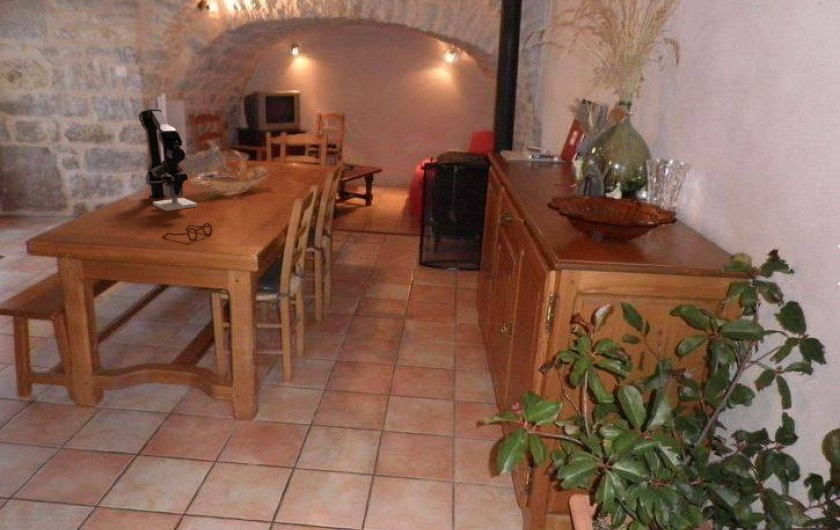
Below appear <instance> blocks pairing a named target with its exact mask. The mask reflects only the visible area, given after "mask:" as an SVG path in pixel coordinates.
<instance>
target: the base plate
mask: <svg viewBox="0 0 840 530" xmlns="http://www.w3.org/2000/svg"><path fill="white" fill-rule="evenodd" d="M152 205H153V206H154V207H157V208H159V209H161V210H163V211H166V212H167V211H168V212H169V211H175V210H182V209H189V208H197V207H198V203H197V202H194V201H192V200H190V199H187V198H185V197H180V198H179V197H172V198H170V199H165V200H157V201H155V200H154V201H152Z"/></svg>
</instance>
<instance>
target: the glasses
mask: <svg viewBox="0 0 840 530" xmlns="http://www.w3.org/2000/svg"><path fill="white" fill-rule="evenodd" d="M205 228H209V229H210V230H209V232H208V233H206V229H205ZM184 231H187V232H180V233H174V232H166V233H165V234H164V235H162V237H161V238H163V239H164V238H166V237H167V236H168V235H172V236H174V237H175V236H186V235H187V238H188V240H189V241H191V242H194V241H196V240H197V239H198V231H203V234H204V235H205V236H210V235H212V232H213V226H212V225H211V223H210V222H205V223H204V224H203V225H194V224H189V225H187V226H186V228H184ZM190 231H194V233H195V236H194V237H193V238H191V237H190Z"/></svg>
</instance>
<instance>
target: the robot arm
mask: <svg viewBox="0 0 840 530" xmlns="http://www.w3.org/2000/svg"><path fill="white" fill-rule="evenodd" d="M138 120H139V122H140V125H141V127H142V129H144V131H145V135H146V140H147V141H146V143H147V149H148V157H149V165H148V166H147V172H146V175H145V184H147V185H148V186H150V194H148V196H149V197H151V198H153V199H158V198H164V197H165V198H166V197H167V196H165V194H164V184H171V183H173V185H174V190H175V194H176V195H178V194H179V192H180V189H181V187H182V185H183V184H184V183H185V181H188V180H189V175H188V173H185V172H181V169H179V164H181V162H183V161H184V159H185V158H186V153H185V151H184V150H183V149H182V148H181V147H183V140H182V137H181V135H180V134H179V132H178V131H177V130H176V128H175V127H173V126H171V125H169V124H168V122H167V120H166V118H165V117H164V116H163V114H162V109H160V108H149V109H146V110H142V111H140V113H139V114H138ZM158 131H159V132H158ZM159 141H160V143H161V145H162V146H161V147H162V152H163V160H162V161H161V154H160V153H161V152H160V146H159V145H160V144H159ZM183 186H184V185H183Z"/></svg>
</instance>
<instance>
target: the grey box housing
mask: <svg viewBox="0 0 840 530" xmlns="http://www.w3.org/2000/svg"><path fill="white" fill-rule="evenodd" d="M163 186H164V194H165V196H166V197H167V198H170V199H172V197H177V198H179V197H180V198H181V197H184V185H182V187H181V189H180V192H179V194H178V195H176V194H175V190H174V185H173V183H171V184H166V183H164V184H163Z"/></svg>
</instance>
